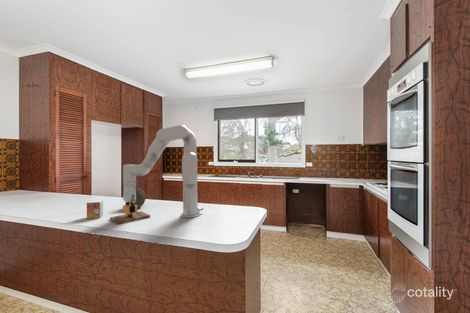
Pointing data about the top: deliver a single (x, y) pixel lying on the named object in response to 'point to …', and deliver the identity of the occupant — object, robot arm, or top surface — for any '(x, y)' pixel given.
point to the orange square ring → (128, 209)
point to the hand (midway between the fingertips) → (130, 211)
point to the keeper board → (129, 217)
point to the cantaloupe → (140, 197)
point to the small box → (94, 209)
